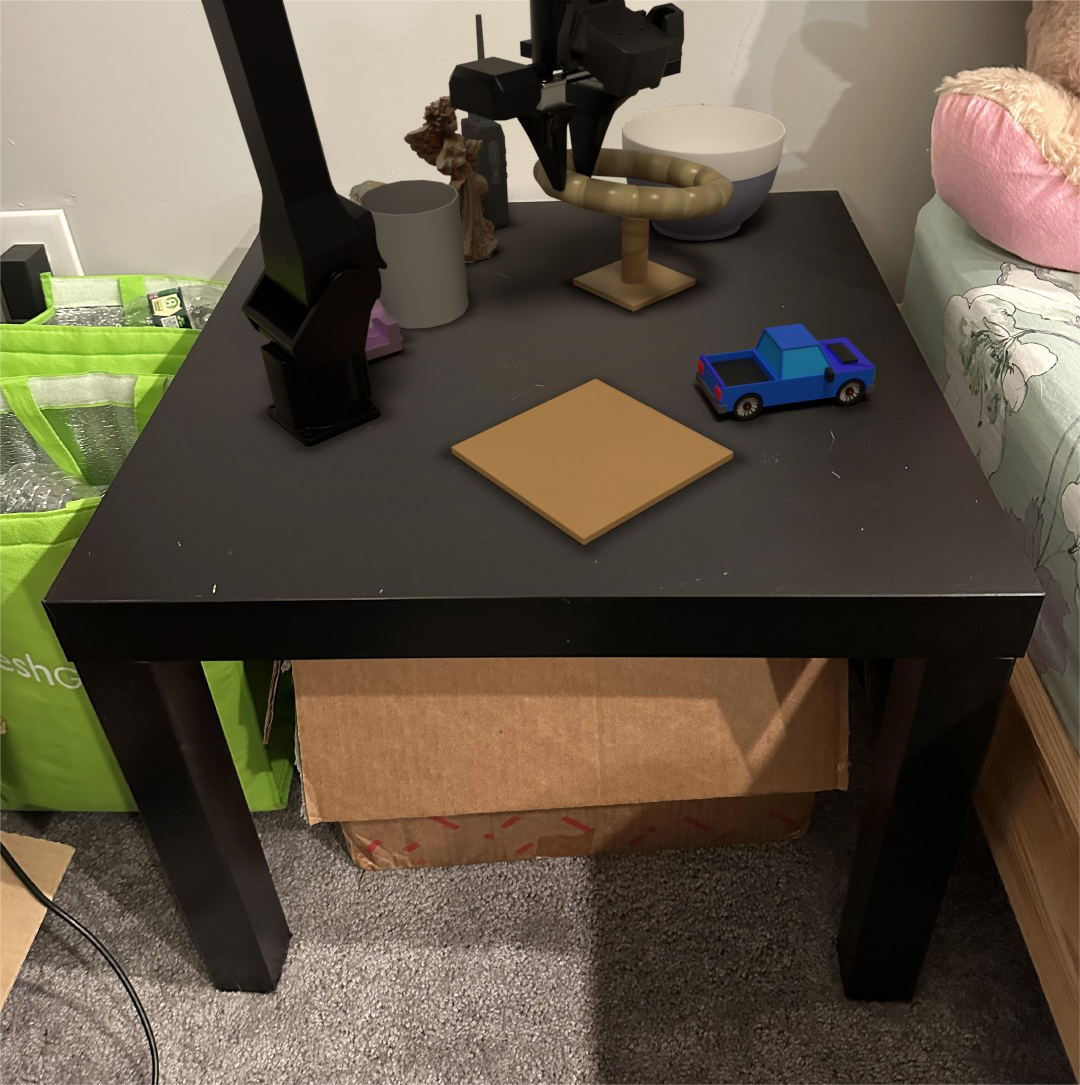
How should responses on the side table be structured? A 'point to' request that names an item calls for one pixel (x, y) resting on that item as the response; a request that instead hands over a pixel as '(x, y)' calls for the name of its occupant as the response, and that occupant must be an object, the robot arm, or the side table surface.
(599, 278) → the ring toss peg
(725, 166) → the bowl
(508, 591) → the side table surface
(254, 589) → the side table surface
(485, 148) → the walkie-talkie
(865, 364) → the toy car
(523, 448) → the mat
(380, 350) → the purple jagged faceted chunk
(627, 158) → the segmented tan ring
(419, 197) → the cup
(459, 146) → the figurine
